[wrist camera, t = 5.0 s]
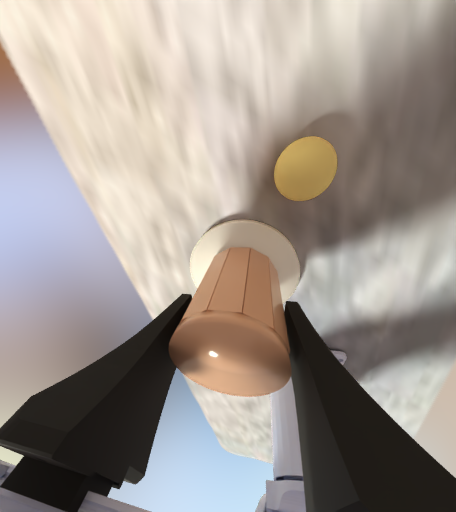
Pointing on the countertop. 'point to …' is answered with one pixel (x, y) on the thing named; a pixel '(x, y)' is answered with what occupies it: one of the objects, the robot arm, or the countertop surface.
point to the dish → (253, 237)
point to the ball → (305, 168)
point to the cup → (235, 328)
